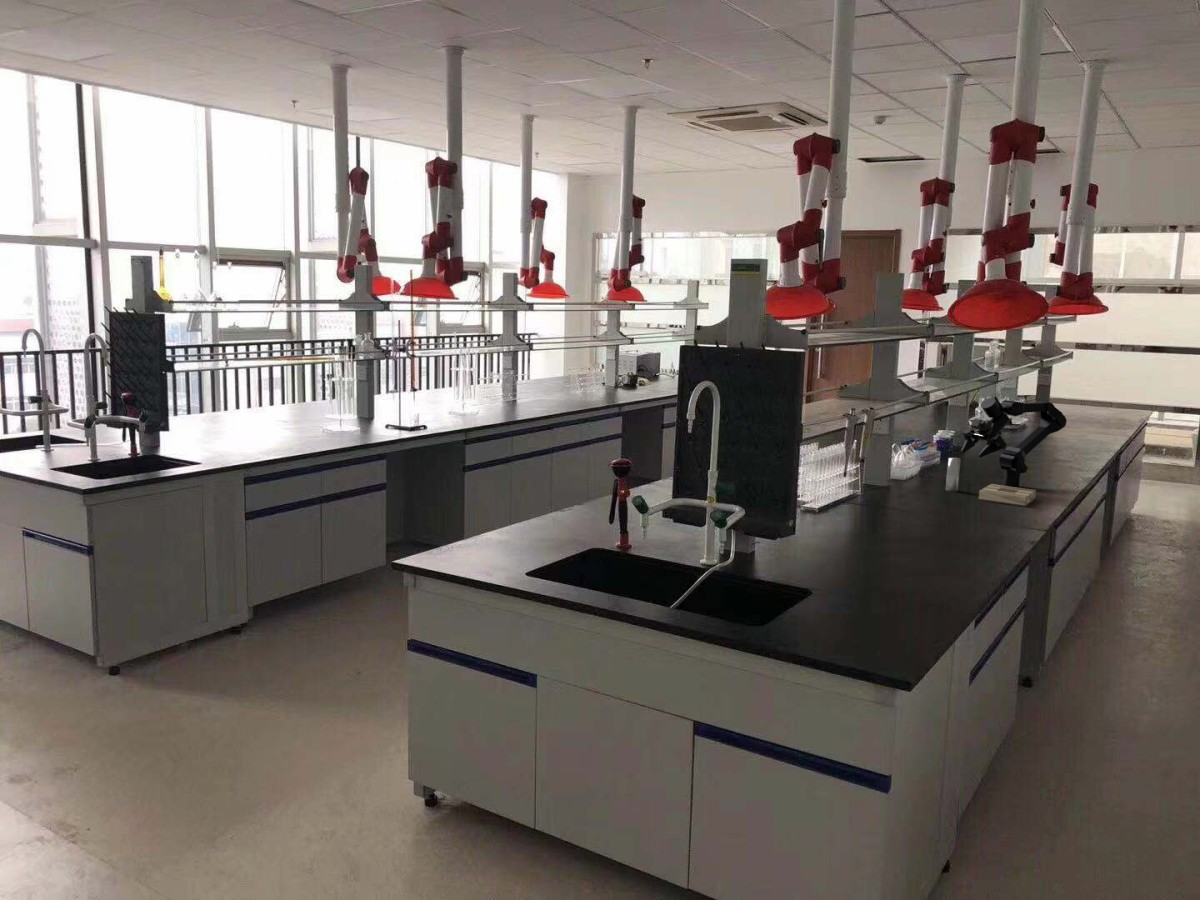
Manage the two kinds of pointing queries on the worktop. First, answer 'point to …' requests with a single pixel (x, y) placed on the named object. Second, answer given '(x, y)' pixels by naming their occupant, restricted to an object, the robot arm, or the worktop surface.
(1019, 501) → the socket block
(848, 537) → the worktop surface
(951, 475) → the steel roller
